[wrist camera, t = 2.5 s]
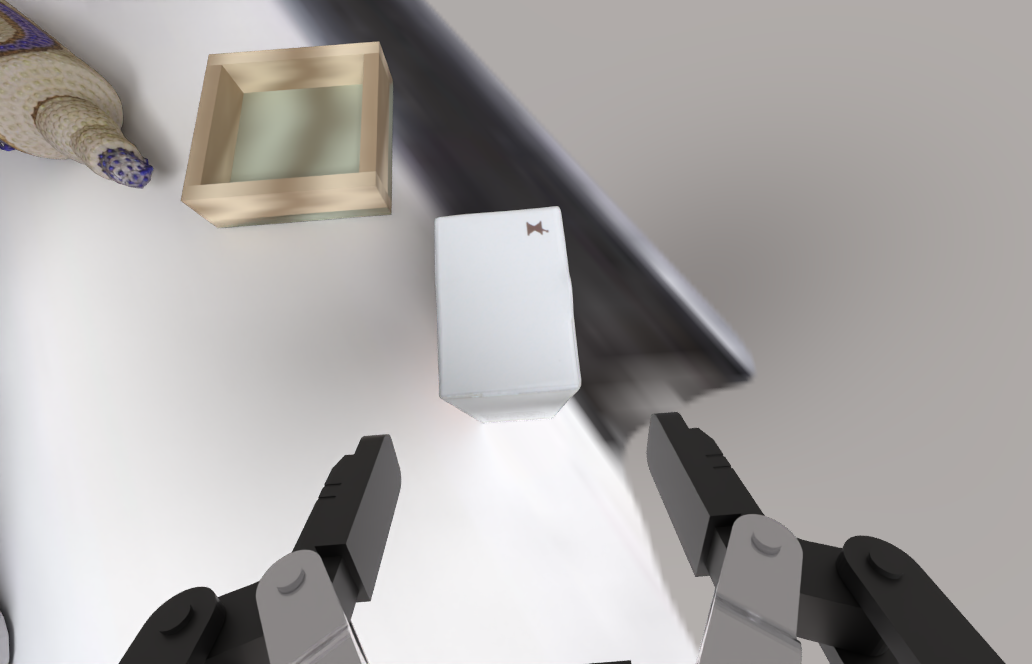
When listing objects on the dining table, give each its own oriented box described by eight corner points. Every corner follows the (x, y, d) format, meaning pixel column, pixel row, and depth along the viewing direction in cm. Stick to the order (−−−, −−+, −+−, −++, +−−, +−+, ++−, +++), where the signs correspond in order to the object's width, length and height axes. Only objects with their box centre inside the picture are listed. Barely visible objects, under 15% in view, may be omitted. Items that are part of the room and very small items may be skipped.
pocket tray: (217, 228, 26) (180, 200, 24) (238, 92, 30) (208, 54, 27) (391, 214, 27) (375, 185, 24) (393, 81, 30) (379, 41, 27)
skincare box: (474, 325, 24) (431, 209, 13) (544, 319, 24) (564, 199, 13) (479, 427, 22) (434, 400, 11) (555, 421, 22) (589, 388, 11)
